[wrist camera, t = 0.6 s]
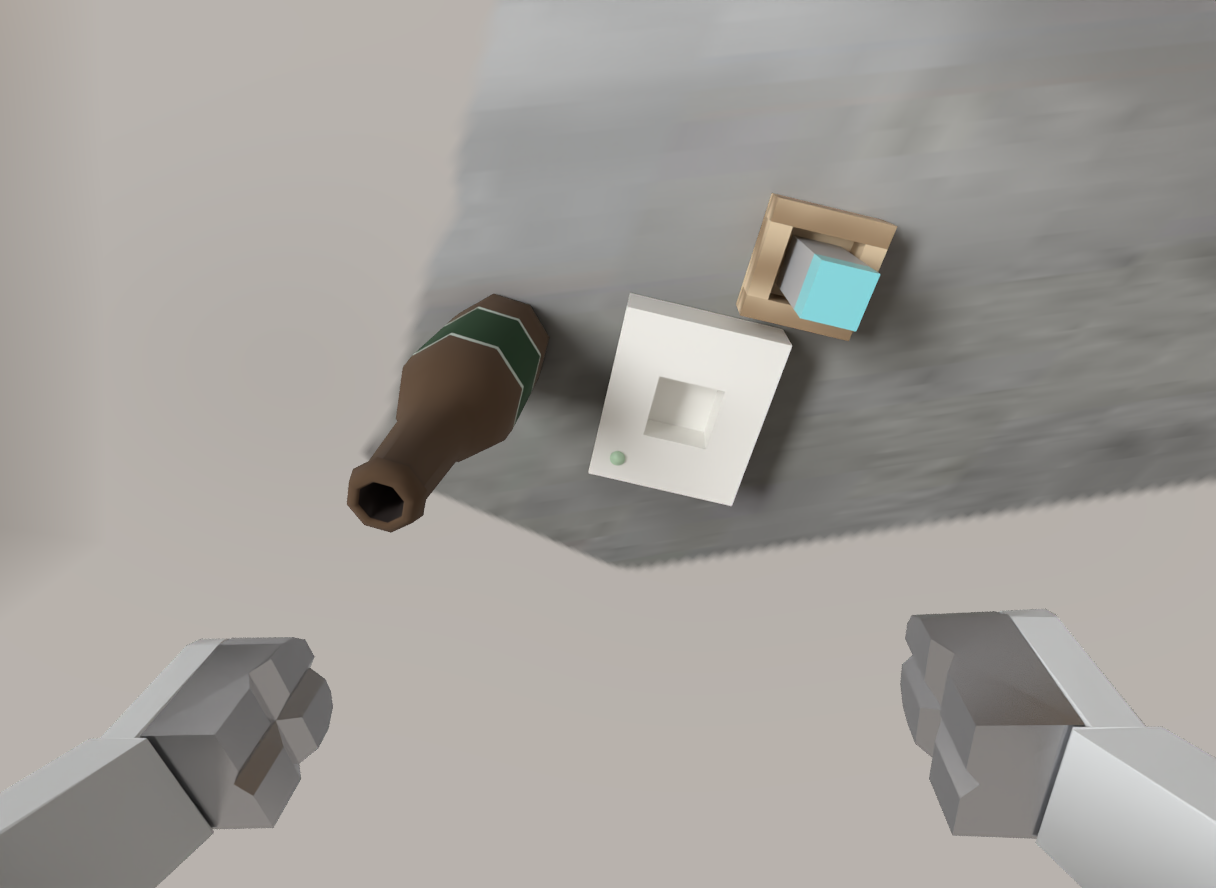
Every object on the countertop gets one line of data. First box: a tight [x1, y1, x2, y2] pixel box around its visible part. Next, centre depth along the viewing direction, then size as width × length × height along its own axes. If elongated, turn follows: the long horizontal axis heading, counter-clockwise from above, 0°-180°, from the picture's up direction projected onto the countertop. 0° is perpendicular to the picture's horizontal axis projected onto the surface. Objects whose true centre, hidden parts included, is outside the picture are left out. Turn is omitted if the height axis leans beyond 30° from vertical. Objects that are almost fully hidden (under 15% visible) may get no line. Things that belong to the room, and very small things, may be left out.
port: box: [588, 293, 792, 506], centre depth 48 cm, size 14×12×4 cm
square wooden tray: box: [736, 193, 897, 341], centre depth 43 cm, size 8×8×3 cm
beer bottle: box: [347, 294, 549, 532], centre depth 38 cm, size 8×8×24 cm
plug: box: [776, 235, 880, 331], centre depth 40 cm, size 4×4×9 cm
